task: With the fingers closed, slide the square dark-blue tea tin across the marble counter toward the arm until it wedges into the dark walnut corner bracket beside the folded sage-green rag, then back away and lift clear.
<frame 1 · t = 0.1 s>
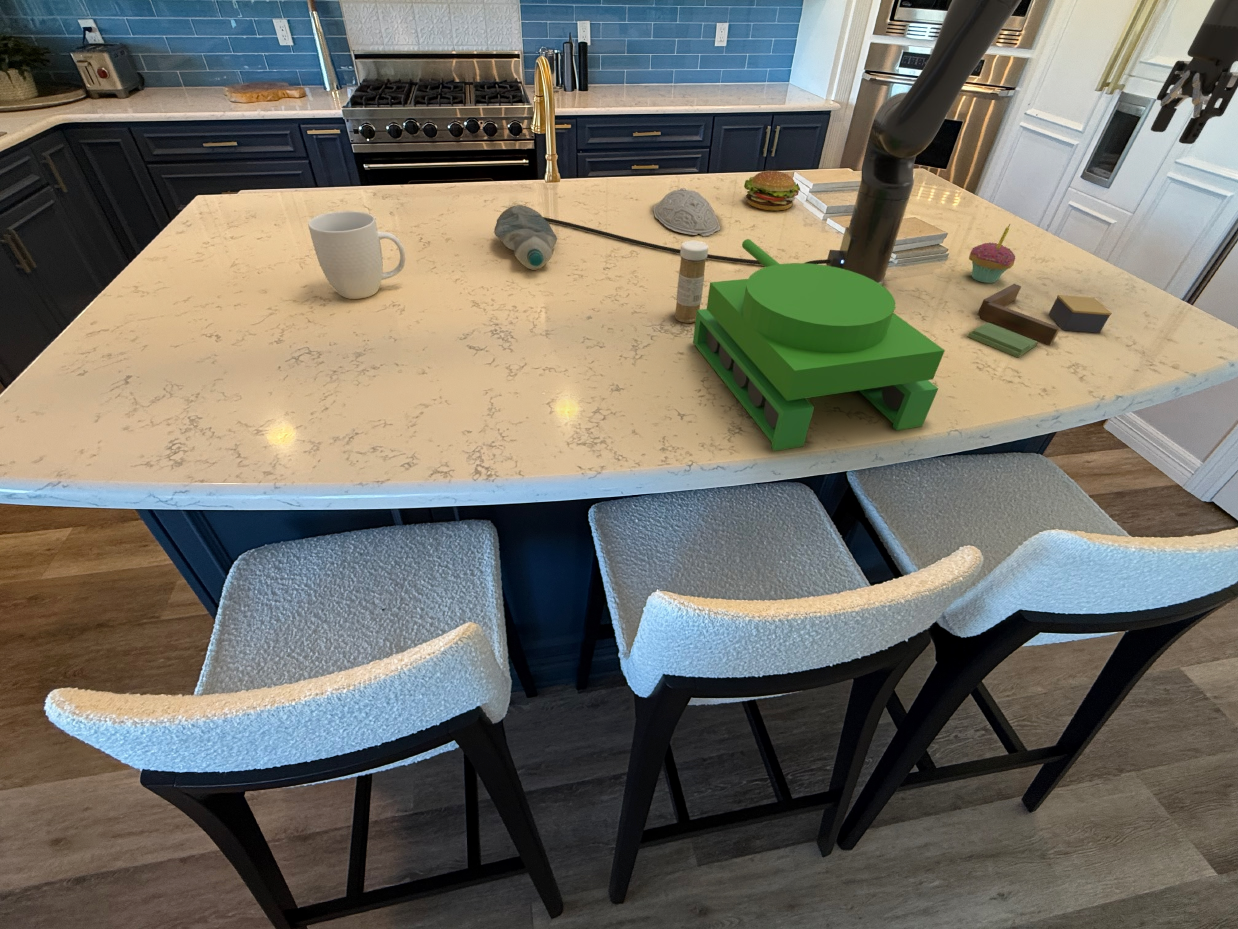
hand: (1170, 137, 108), 29 cm above the counter, tool pointing down, fingers open, 8 cm apart
sprinkles bottle: (686, 319, 113), on the counter
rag: (1001, 341, 111), on the counter
food: (769, 204, 166), on the counter
tea tin: (1073, 323, 117), on the counter
grey turtle shell: (685, 219, 155), on the counter
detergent: (528, 255, 134), on the counter
mug: (365, 292, 117), on the counter
cupcake: (982, 279, 132), on the counter
tank: (790, 374, 100), on the counter
corner guide: (985, 317, 118), on the counter
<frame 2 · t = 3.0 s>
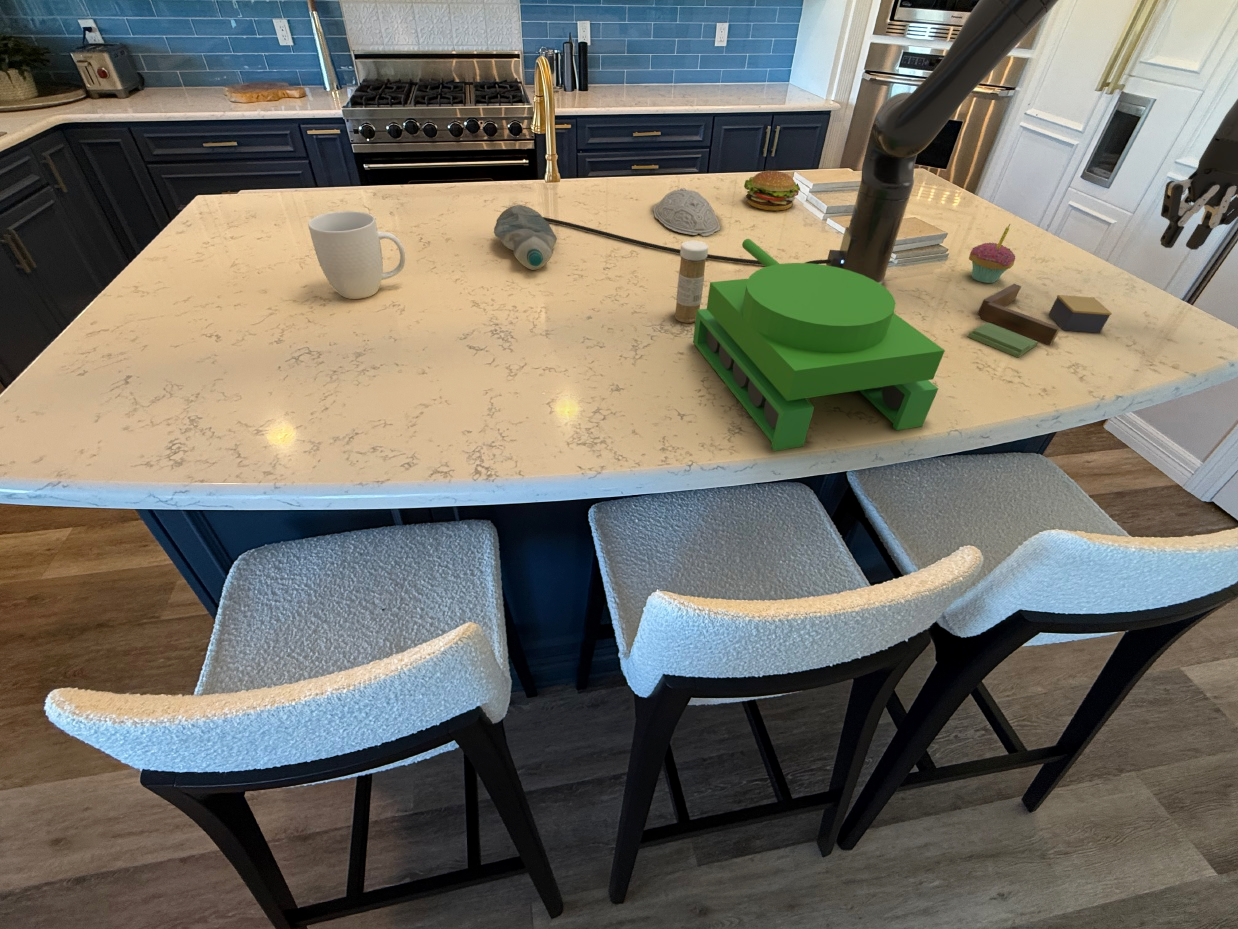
hand: (1178, 246, 107), 15 cm above the counter, tool pointing down, fingers open, 3 cm apart
nothing on the counter moved.
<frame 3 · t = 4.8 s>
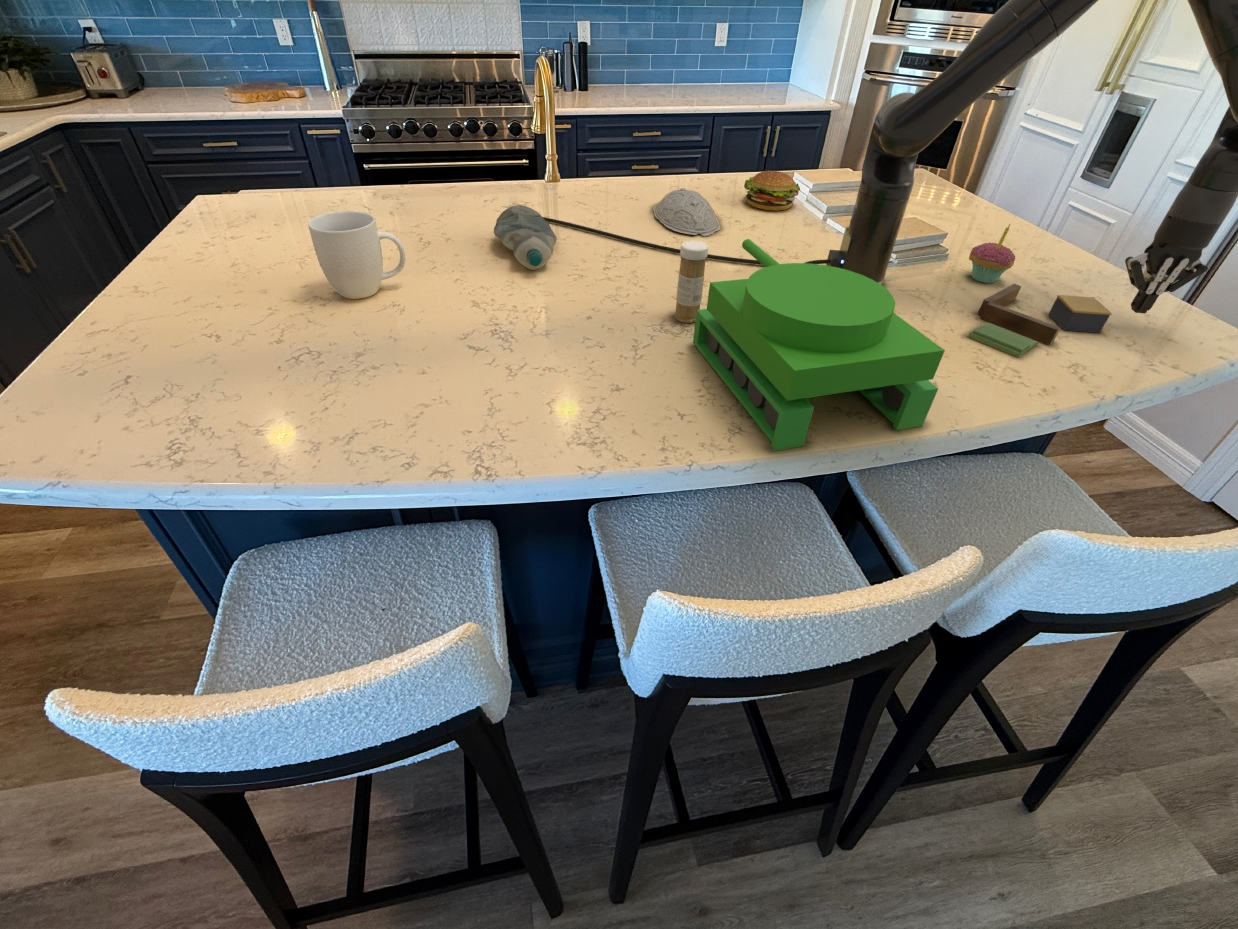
hand: (1137, 311, 115), 3 cm above the counter, tool pointing down, fingers closed
nothing on the counter moved.
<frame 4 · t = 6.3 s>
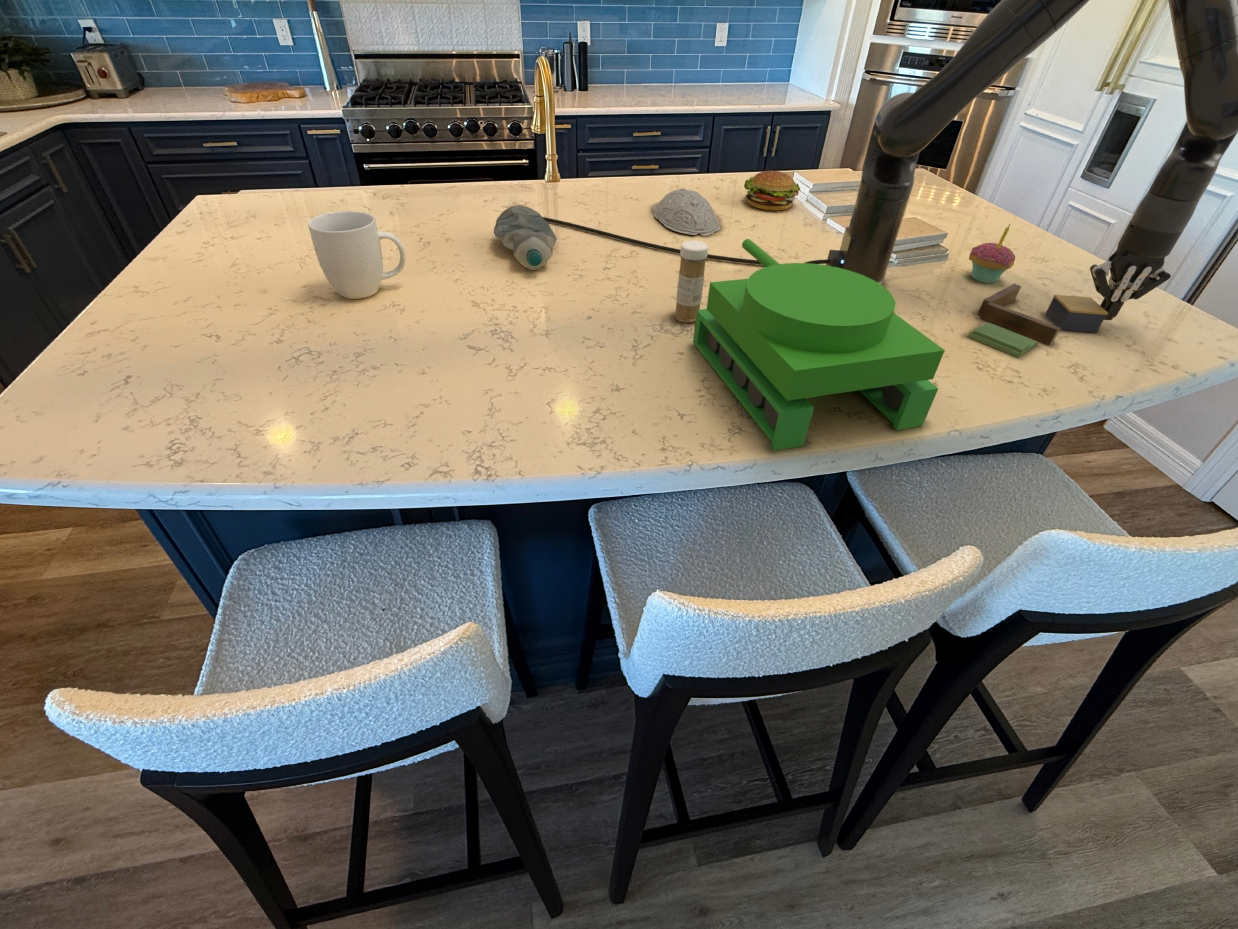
hand: (1103, 318, 116), 1 cm above the counter, tool pointing down, fingers closed
tea tin: (1070, 323, 117), on the counter, touching gripper
everything else where it was.
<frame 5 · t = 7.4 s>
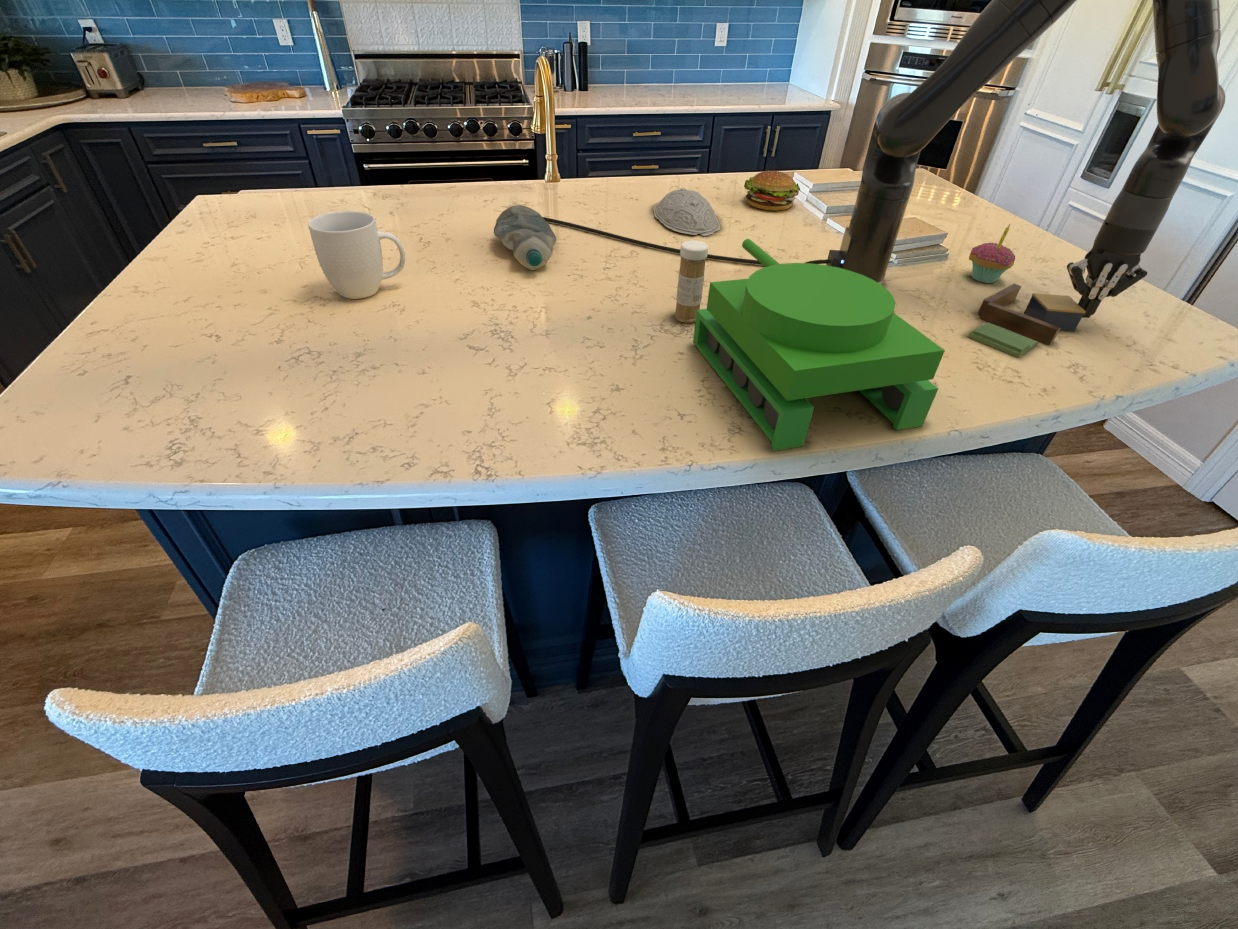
hand: (1082, 315, 116), 2 cm above the counter, tool pointing down, fingers closed
tea tin: (1048, 322, 117), on the counter, touching gripper
everything else where it was.
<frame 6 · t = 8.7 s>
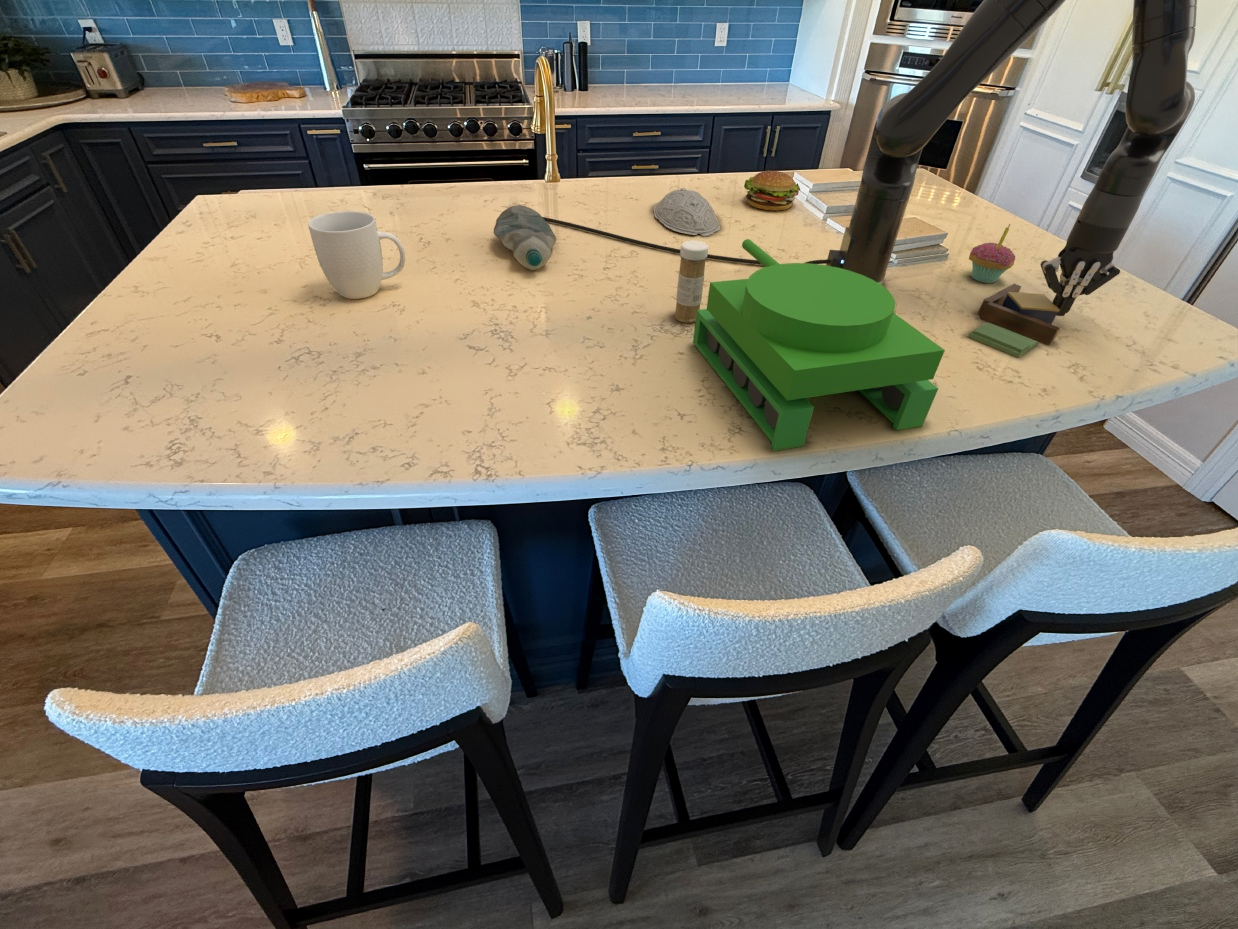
hand: (1056, 314, 116), 2 cm above the counter, tool pointing down, fingers closed
tea tin: (1023, 320, 117), on the counter, touching gripper
everything else where it was.
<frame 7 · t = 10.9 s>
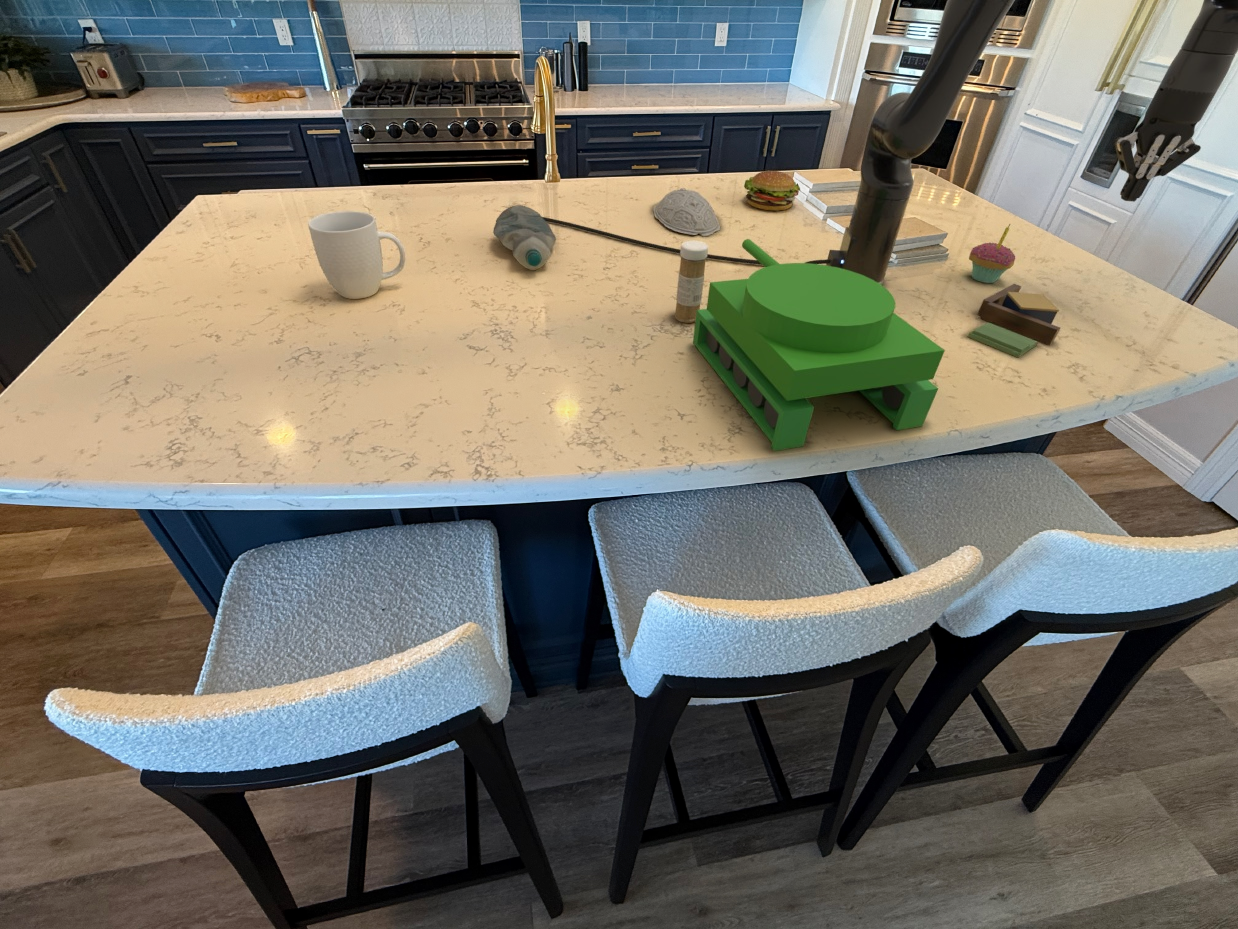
hand: (1127, 199, 110), 20 cm above the counter, tool pointing down, fingers closed
tea tin: (1023, 320, 117), on the counter
everything else where it was.
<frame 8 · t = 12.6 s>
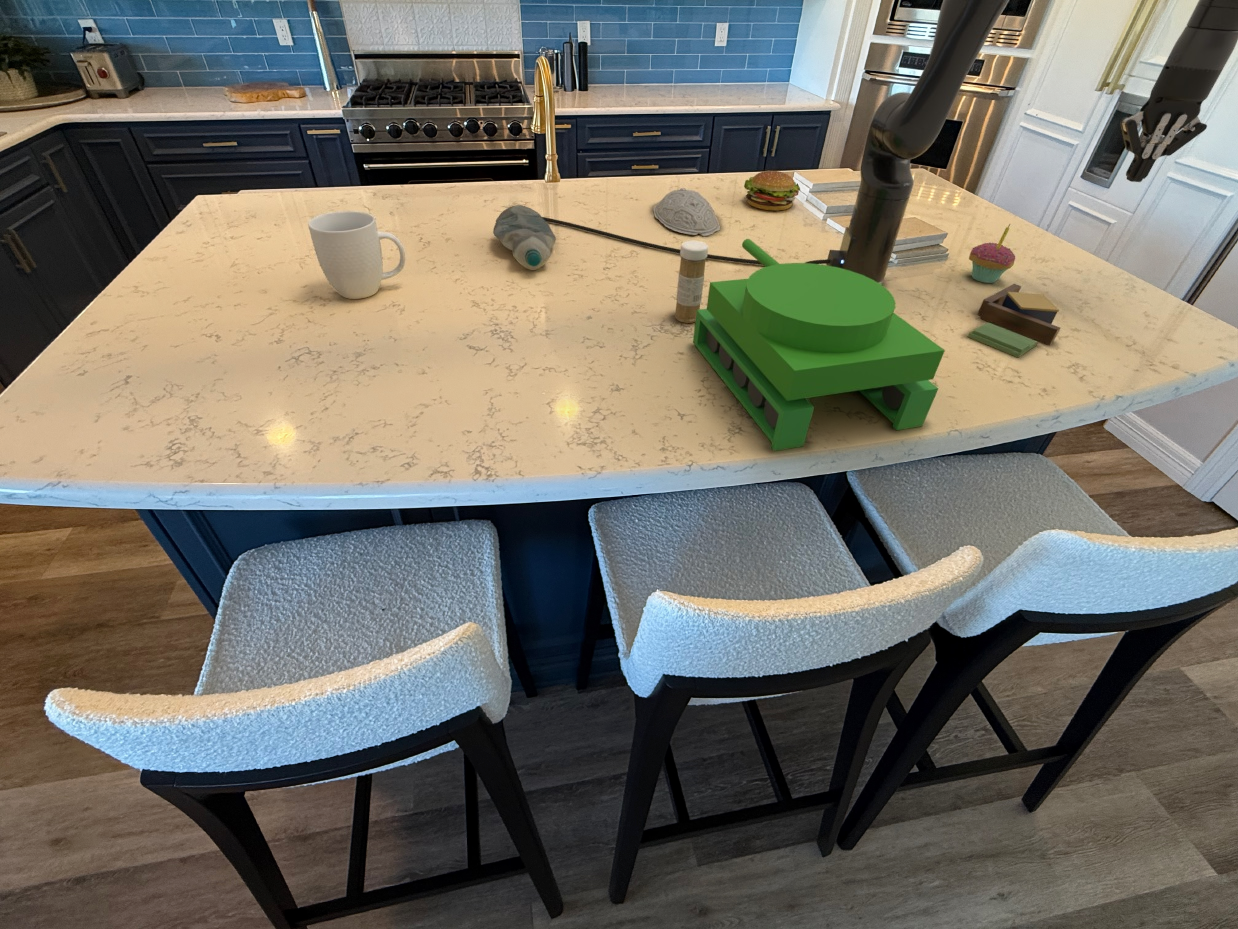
hand: (1133, 180, 109), 23 cm above the counter, tool pointing down, fingers closed
nothing on the counter moved.
at the end: tea tin 0.3 cm from the target spot on the corner guide, point 0.0 cm above the corner guide's base; tea tin tilted 0°; tea tin moved 9.2 cm from its start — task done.
